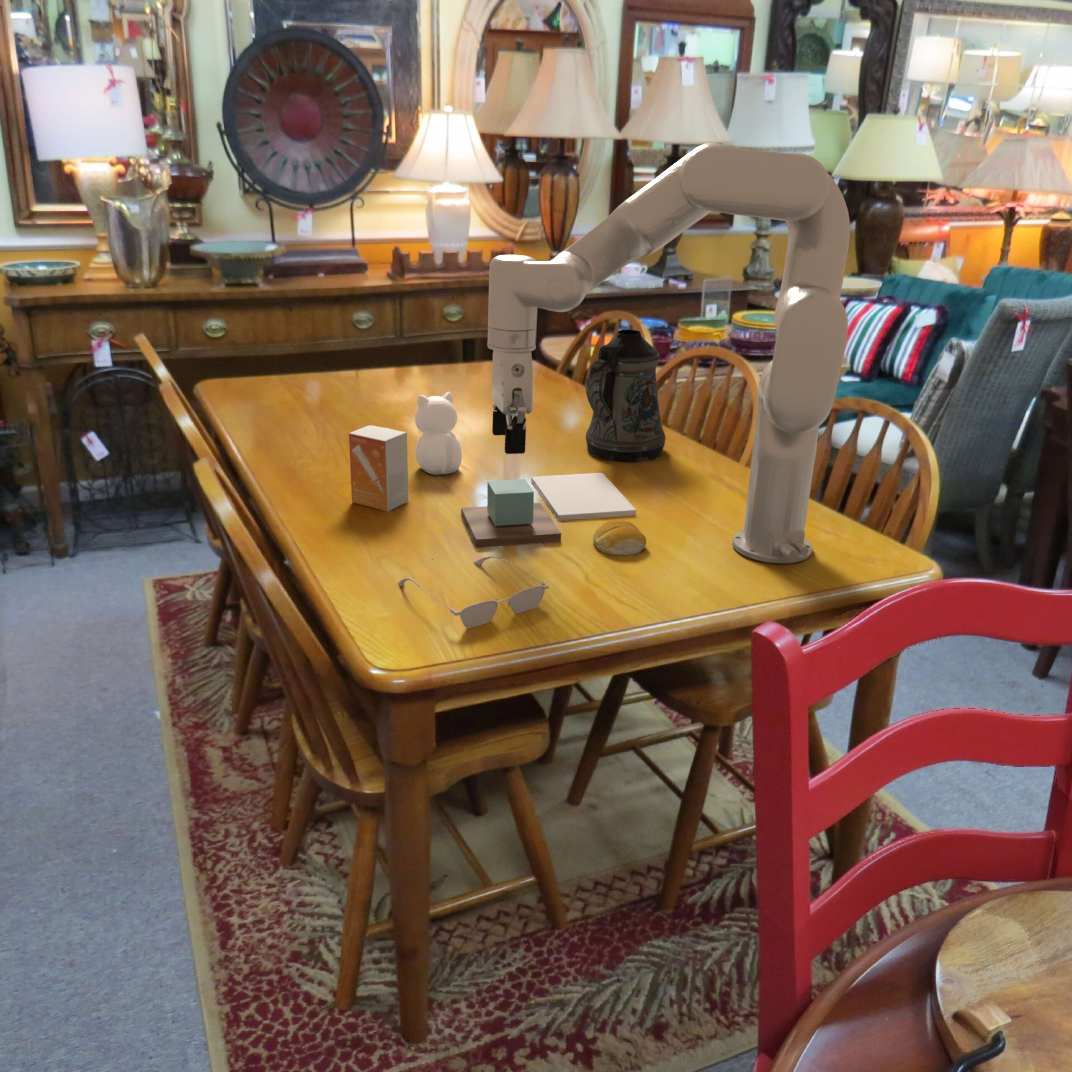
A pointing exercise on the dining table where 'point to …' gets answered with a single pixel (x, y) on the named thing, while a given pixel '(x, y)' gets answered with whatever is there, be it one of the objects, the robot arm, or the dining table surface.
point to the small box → (379, 467)
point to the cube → (510, 502)
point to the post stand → (509, 529)
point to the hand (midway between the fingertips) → (508, 443)
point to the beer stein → (625, 401)
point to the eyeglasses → (487, 609)
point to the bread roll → (619, 538)
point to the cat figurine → (437, 435)
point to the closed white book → (582, 496)
